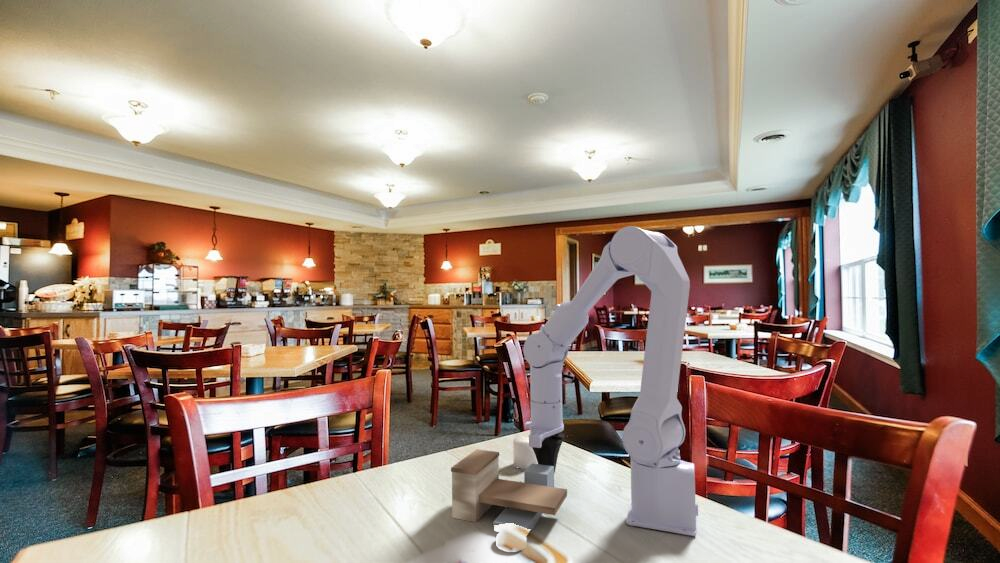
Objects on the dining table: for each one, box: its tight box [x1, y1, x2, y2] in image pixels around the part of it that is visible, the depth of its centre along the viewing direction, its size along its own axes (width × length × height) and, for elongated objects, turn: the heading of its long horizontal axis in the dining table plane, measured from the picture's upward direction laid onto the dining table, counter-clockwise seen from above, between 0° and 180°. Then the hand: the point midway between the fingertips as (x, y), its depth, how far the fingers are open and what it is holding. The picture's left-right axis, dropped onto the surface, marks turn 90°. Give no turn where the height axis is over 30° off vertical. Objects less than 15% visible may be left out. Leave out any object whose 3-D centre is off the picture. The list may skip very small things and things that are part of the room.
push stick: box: [492, 463, 555, 531], centre depth 73 cm, size 5×16×4 cm, turn 157°
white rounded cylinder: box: [512, 436, 538, 470], centre depth 93 cm, size 5×5×5 cm
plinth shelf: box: [450, 449, 568, 523], centre depth 72 cm, size 16×9×8 cm, turn 67°
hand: (547, 476), depth 83 cm, fingers closed
